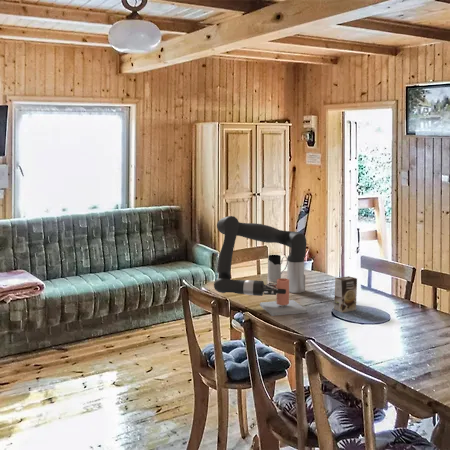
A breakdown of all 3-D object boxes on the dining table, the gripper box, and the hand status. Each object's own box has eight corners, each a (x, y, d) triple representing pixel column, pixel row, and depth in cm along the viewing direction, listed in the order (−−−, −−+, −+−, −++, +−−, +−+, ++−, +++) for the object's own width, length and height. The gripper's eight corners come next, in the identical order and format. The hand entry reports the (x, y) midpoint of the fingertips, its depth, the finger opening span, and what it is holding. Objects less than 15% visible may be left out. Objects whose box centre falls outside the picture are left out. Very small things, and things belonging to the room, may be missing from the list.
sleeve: (281, 300, 276) (282, 277, 274) (291, 303, 272) (291, 279, 270) (274, 303, 272) (274, 279, 270) (283, 305, 267) (283, 281, 266)
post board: (292, 302, 283) (293, 278, 281) (306, 312, 266) (307, 287, 264) (259, 305, 278) (259, 281, 277) (271, 315, 261) (272, 290, 259)
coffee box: (342, 313, 265) (342, 280, 263) (333, 309, 271) (334, 277, 268) (356, 310, 269) (357, 278, 267) (348, 307, 275) (348, 275, 273)
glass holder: (264, 279, 333) (264, 255, 331) (283, 276, 340) (283, 253, 338) (272, 282, 325) (272, 257, 323) (291, 279, 332) (292, 255, 330)
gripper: (250, 283, 267) (284, 286, 263) (256, 277, 281) (289, 279, 277) (250, 298, 268) (284, 301, 264) (256, 291, 282) (289, 293, 278)
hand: (286, 289), depth 270 cm, fingers closed on sleeve, 6 cm apart
